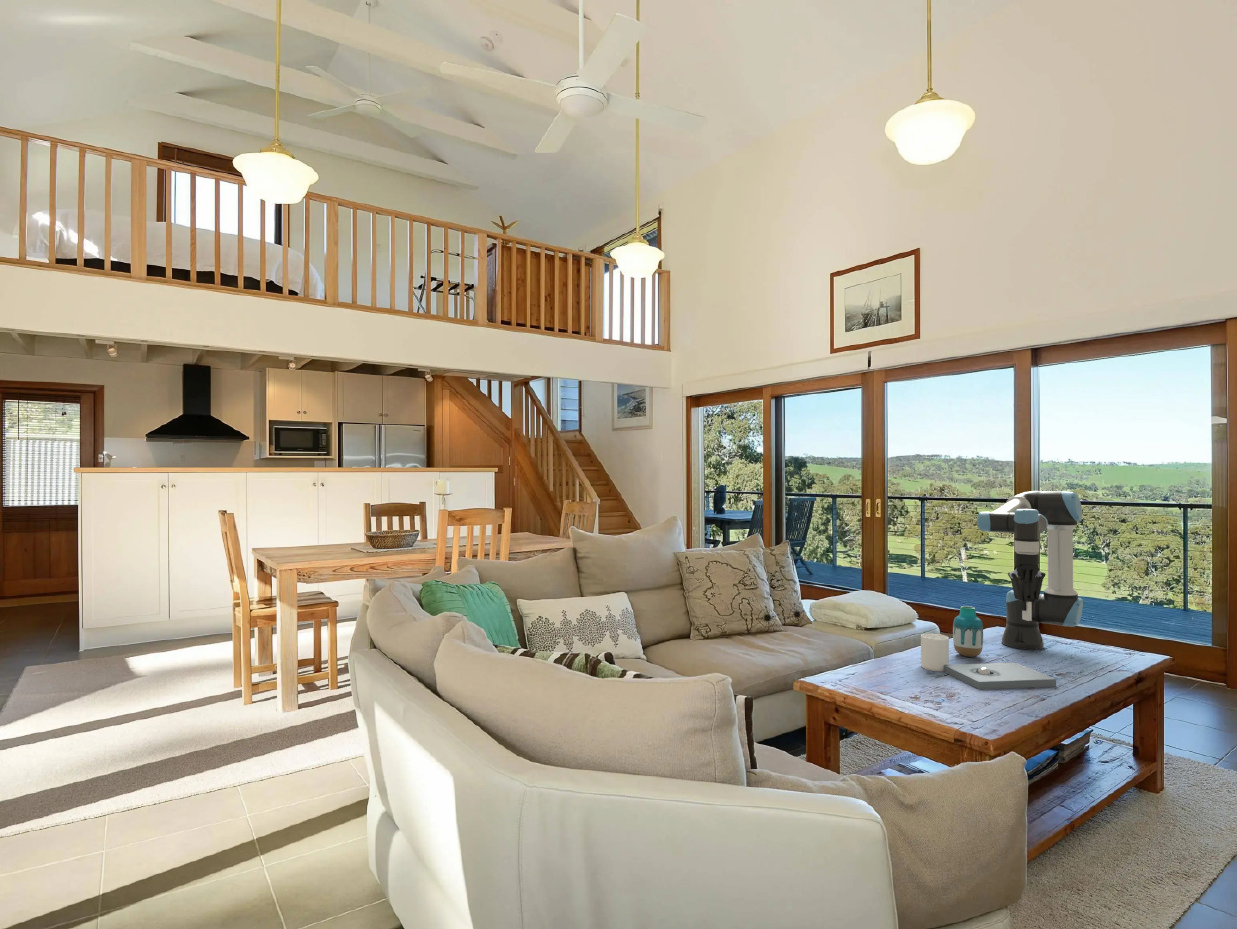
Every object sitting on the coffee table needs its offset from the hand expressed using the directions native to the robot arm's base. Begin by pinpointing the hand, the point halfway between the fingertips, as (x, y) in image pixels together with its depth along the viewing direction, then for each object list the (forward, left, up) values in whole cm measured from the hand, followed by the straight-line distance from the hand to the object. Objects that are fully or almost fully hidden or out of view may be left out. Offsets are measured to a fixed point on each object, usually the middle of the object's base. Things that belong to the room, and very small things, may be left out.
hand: (1026, 619), depth 241 cm
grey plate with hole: (+11, 0, -20) cm, 23 cm away
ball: (+16, 0, -18) cm, 25 cm away
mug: (+26, -16, -21) cm, 37 cm away
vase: (+3, -29, -21) cm, 36 cm away
